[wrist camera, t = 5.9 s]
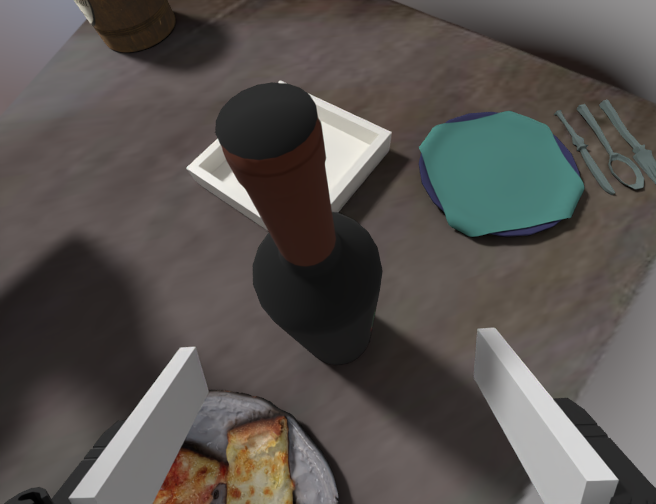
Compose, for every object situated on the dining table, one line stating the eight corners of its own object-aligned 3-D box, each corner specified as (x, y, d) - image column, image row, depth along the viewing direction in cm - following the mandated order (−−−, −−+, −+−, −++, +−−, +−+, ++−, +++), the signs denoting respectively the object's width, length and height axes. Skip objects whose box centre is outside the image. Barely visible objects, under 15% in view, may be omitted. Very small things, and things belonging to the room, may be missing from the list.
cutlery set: (399, 136, 46) (401, 123, 44) (596, 98, 47) (608, 84, 45) (443, 256, 38) (448, 249, 36) (681, 210, 39) (700, 200, 36)
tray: (303, 254, 40) (298, 242, 36) (198, 183, 46) (186, 168, 43) (389, 150, 45) (391, 132, 42) (285, 99, 52) (280, 80, 48)
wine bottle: (291, 321, 36) (91, 105, 9) (345, 285, 38) (310, -2, 10) (328, 379, 33) (192, 319, 6) (384, 338, 35) (480, 135, 7)
